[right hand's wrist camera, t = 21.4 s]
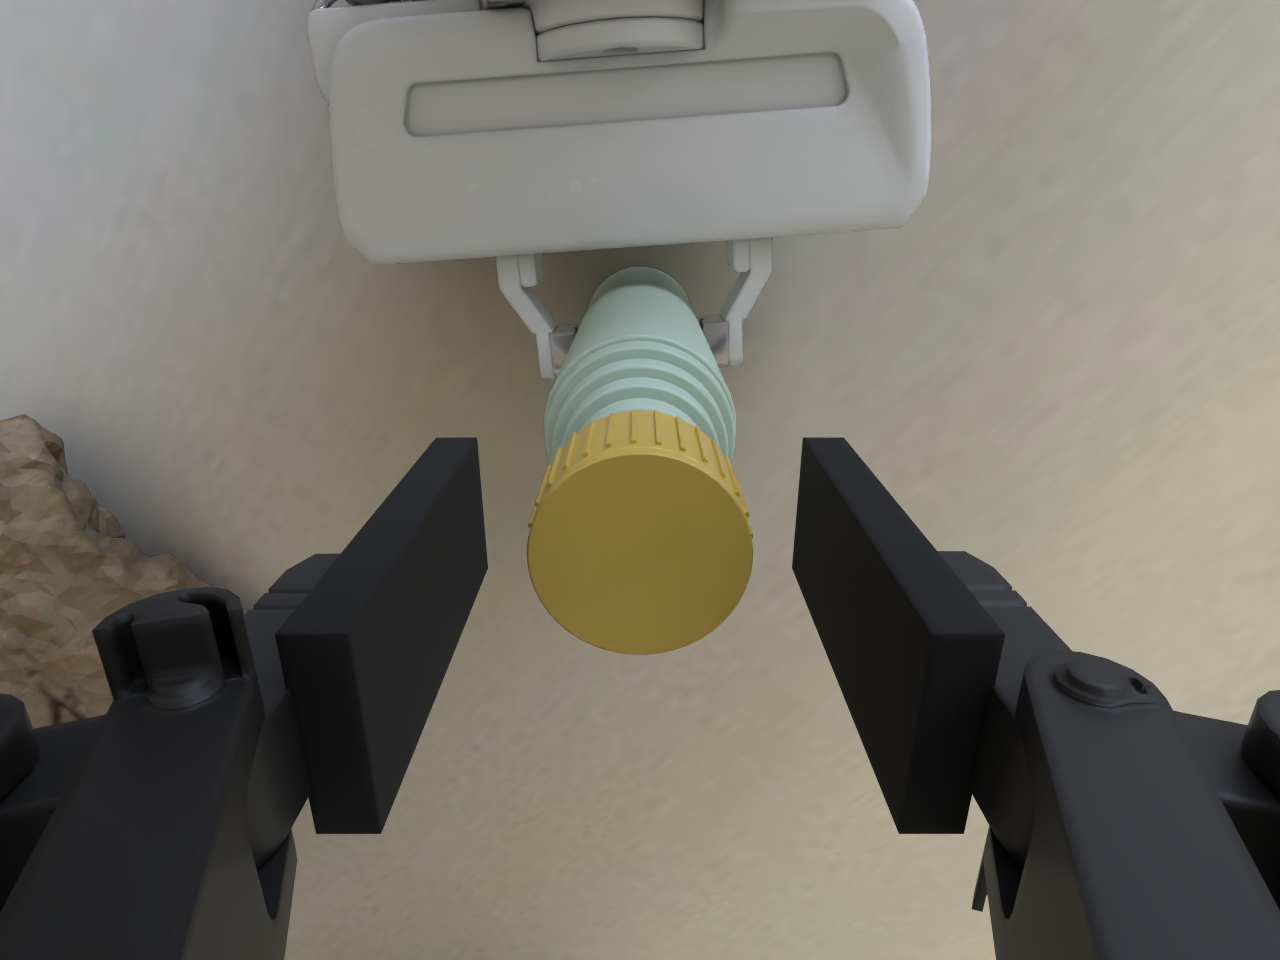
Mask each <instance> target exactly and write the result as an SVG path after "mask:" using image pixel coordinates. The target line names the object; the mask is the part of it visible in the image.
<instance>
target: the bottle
mask: <svg viewBox="0 0 1280 960" xmlns="http://www.w3.org/2000/svg"><path fill="white" fill-rule="evenodd" d="M632 409H637V411H652V412H654V411H655V410H657V411H659V413H663V414H667V415H671V416H674V417H676V416H679V417H681V420H684V421H686V422H688V423H689V424H691V425H693V426H695V427H696V425H697V426H698V427H700V430H701V431H702V432H703V433H704V434H706V435H707V436H708V437H709V438H710V439H711V440H713V439H714V440H715V441H716V443H717V446H718V449H719V450H720V451H721V453H722V454H723V456H726V455H727V457H728V459H729V462H730V464H731V462H732V458H733V453H734V447H735V439H736V414H735V409H734V404H733V401H732V398H731V395H730V392H729V390H728V388H727V385H726V383H725V381H724V379H723V376H722V374H721V372H720V370H719V367H718V365H717V363H716V361H715V358H714V356H713V354H712V352H711V349H710V347H709V345H708V343H707V340H706V338H705V336H704V334H703V331H702V329H701V327H700V325H699V322H698V320H697V318H696V315H695V313H694V311H693V309H692V306H691V304H690V302H689V300H688V298H687V296H686V294H685V292H684V290H683V289H682V287H681V286H680V285H679V284H678V283H677V282H676V281H675V280H674V279H673V278H672V277H670V276H669V275H667V274H666V273H664V272H662V271H660V270H657V269H654V268H649V267H630V268H626V269H623V270H620V271H618V272H616V273H614V274H612V275H611V276H610V277H608V278H607V279H606V280H605V281H604V282H603V283H602V284H601V285H600V286H599V287H598V289H597V290H596V292H595V293H594V295H593V297H592V300H591V302H590V304H589V306H588V309H587V311H586V313H585V315H584V318H583V320H582V322H581V324H580V327H579V329H578V331H577V333H576V336H575V338H574V340H573V342H572V345H571V347H570V349H569V351H568V354H567V356H566V358H565V360H564V363H563V365H562V367H561V370H560V372H559V374H558V376H557V379H556V381H555V383H554V385H553V388H552V390H551V392H550V395H549V397H548V401H547V404H546V408H545V414H544V439H545V447H546V454H547V458H548V461H549V465H552V463H553V461H554V458H555V455H556V452H557V449H558V448H559V447H561V448H562V447H563V446H564V445H565V443H566V442H567V441H568V440H569V439H570V438H571V434H572V433H574V432H575V433H577V432H578V431H580V430H581V429H582V428H584V427H585V426H587V425H589V422H590V421H592V420H594V421H596V420H598V419H601V418H603V417H606V416H609V415H610V413H613V412H614V413H615V414H617V413H621V412H628V411H632Z"/></svg>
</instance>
